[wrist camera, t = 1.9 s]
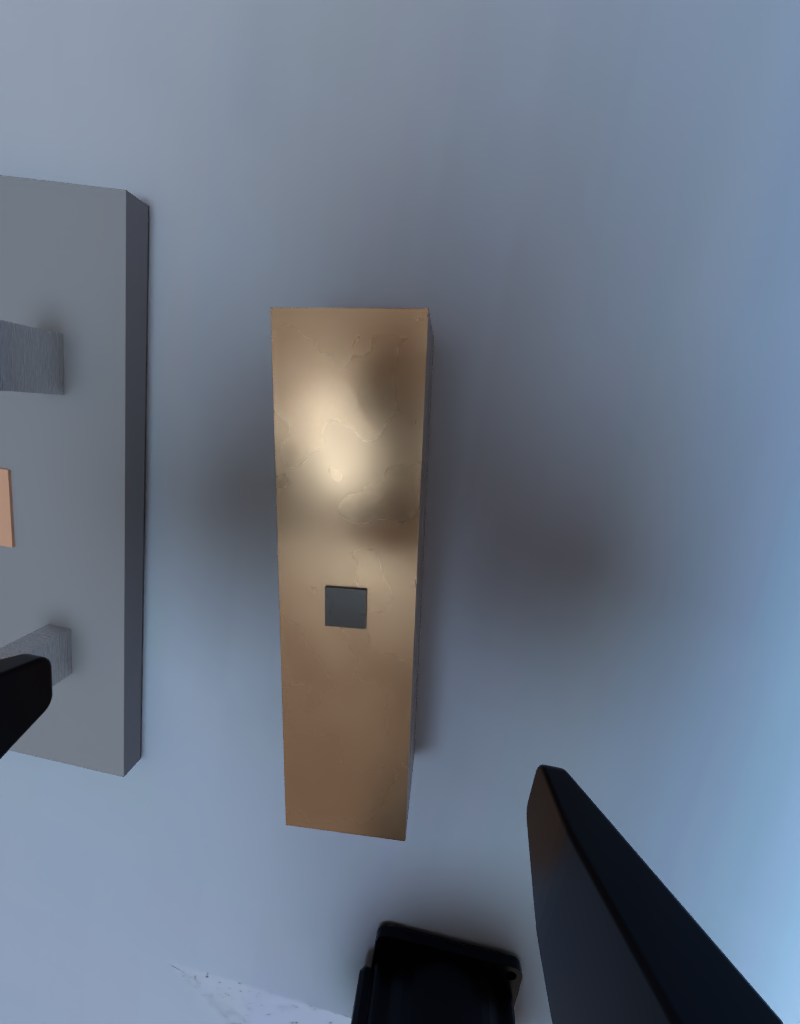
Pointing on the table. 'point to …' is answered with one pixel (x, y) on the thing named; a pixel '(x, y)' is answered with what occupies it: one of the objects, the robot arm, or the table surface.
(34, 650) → the set of grey blocks
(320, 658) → the tan wooden bar
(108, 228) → the plate
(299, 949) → the table surface
